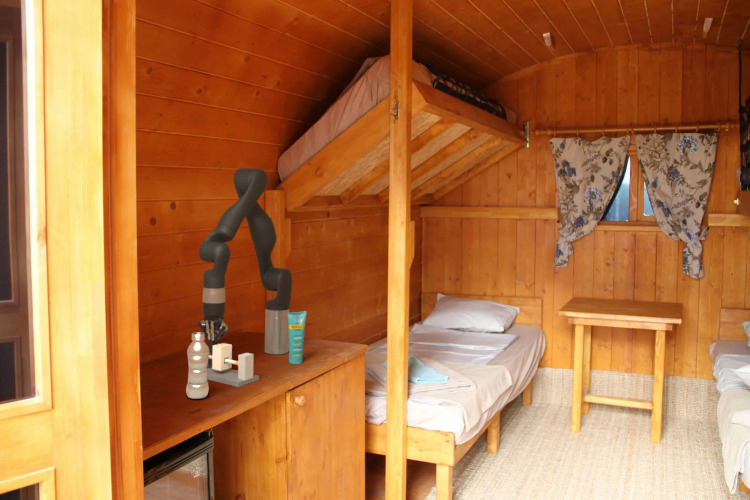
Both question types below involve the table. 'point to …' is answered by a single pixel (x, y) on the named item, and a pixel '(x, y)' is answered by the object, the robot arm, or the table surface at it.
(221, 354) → the sleeve
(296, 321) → the tube
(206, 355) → the plastic bottle
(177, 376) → the table surface
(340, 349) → the table surface
